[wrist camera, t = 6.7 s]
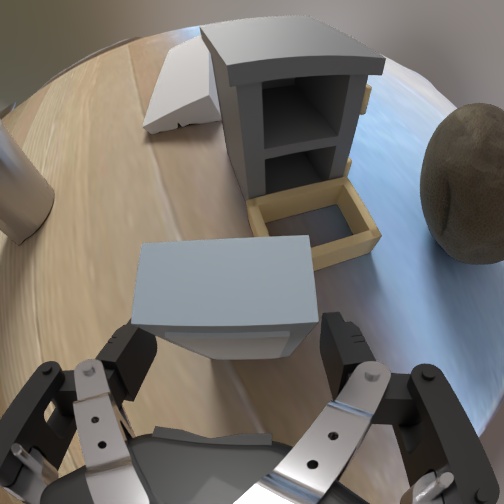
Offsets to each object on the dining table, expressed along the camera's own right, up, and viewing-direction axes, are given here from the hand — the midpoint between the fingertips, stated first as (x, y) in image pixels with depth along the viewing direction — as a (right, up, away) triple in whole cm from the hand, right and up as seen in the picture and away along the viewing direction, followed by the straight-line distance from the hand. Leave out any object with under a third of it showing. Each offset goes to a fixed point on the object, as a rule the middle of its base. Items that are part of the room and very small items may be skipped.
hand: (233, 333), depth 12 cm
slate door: (+1, -3, +8) cm, 9 cm away
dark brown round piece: (+23, +6, +12) cm, 26 cm away
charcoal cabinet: (+5, +10, +14) cm, 18 cm away
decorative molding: (-11, +35, +29) cm, 47 cm away
